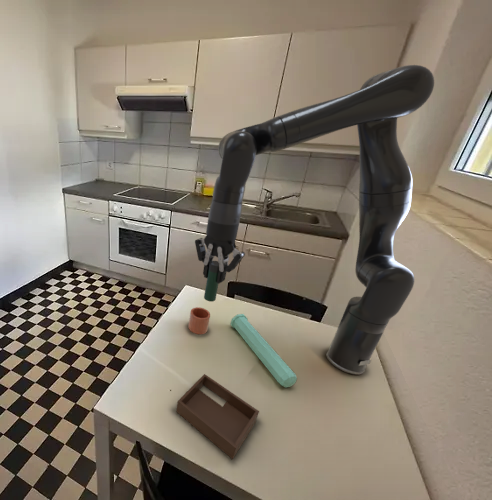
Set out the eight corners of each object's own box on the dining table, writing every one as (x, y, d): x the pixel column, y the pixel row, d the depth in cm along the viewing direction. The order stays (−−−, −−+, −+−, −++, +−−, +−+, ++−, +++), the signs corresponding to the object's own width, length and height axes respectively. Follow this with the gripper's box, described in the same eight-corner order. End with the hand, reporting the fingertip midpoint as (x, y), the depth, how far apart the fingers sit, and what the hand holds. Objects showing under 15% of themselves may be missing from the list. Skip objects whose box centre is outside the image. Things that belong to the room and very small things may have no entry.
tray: (202, 383, 72) (204, 373, 70) (255, 421, 63) (259, 411, 62) (176, 411, 64) (177, 401, 63) (232, 459, 56) (236, 448, 54)
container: (301, 371, 69) (245, 310, 91) (280, 381, 69) (228, 318, 91) (302, 385, 72) (247, 323, 94) (282, 395, 72) (231, 330, 94)
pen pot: (195, 320, 96) (197, 305, 93) (210, 329, 92) (213, 313, 89) (184, 328, 91) (186, 312, 89) (200, 338, 88) (203, 321, 85)
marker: (207, 293, 80) (213, 259, 76) (217, 298, 78) (224, 263, 74) (201, 298, 78) (207, 262, 74) (211, 303, 76) (218, 267, 72)
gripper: (258, 223, 67) (243, 285, 74) (207, 210, 76) (199, 266, 83) (243, 229, 62) (229, 295, 69) (191, 214, 71) (183, 274, 78)
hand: (213, 279), depth 76 cm, fingers closed on marker, 3 cm apart
